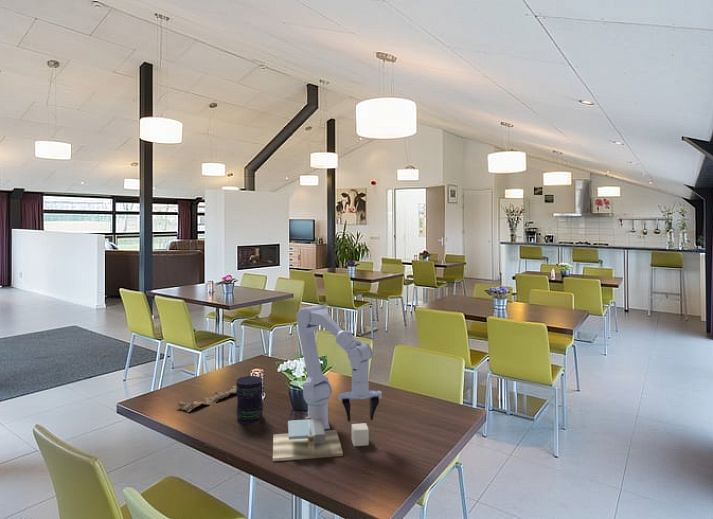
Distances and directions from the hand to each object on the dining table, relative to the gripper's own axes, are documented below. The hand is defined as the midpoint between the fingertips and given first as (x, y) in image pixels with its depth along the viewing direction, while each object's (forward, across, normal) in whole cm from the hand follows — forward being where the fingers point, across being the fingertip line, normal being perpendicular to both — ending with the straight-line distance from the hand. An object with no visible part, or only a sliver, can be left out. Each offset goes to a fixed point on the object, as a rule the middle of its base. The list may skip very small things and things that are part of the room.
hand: (360, 419), depth 157 cm
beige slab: (+8, -18, 0) cm, 20 cm away
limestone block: (+8, 0, 0) cm, 8 cm away
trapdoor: (+4, -18, 0) cm, 19 cm away
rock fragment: (+8, -53, +51) cm, 74 cm away
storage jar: (+8, -38, +27) cm, 47 cm away
